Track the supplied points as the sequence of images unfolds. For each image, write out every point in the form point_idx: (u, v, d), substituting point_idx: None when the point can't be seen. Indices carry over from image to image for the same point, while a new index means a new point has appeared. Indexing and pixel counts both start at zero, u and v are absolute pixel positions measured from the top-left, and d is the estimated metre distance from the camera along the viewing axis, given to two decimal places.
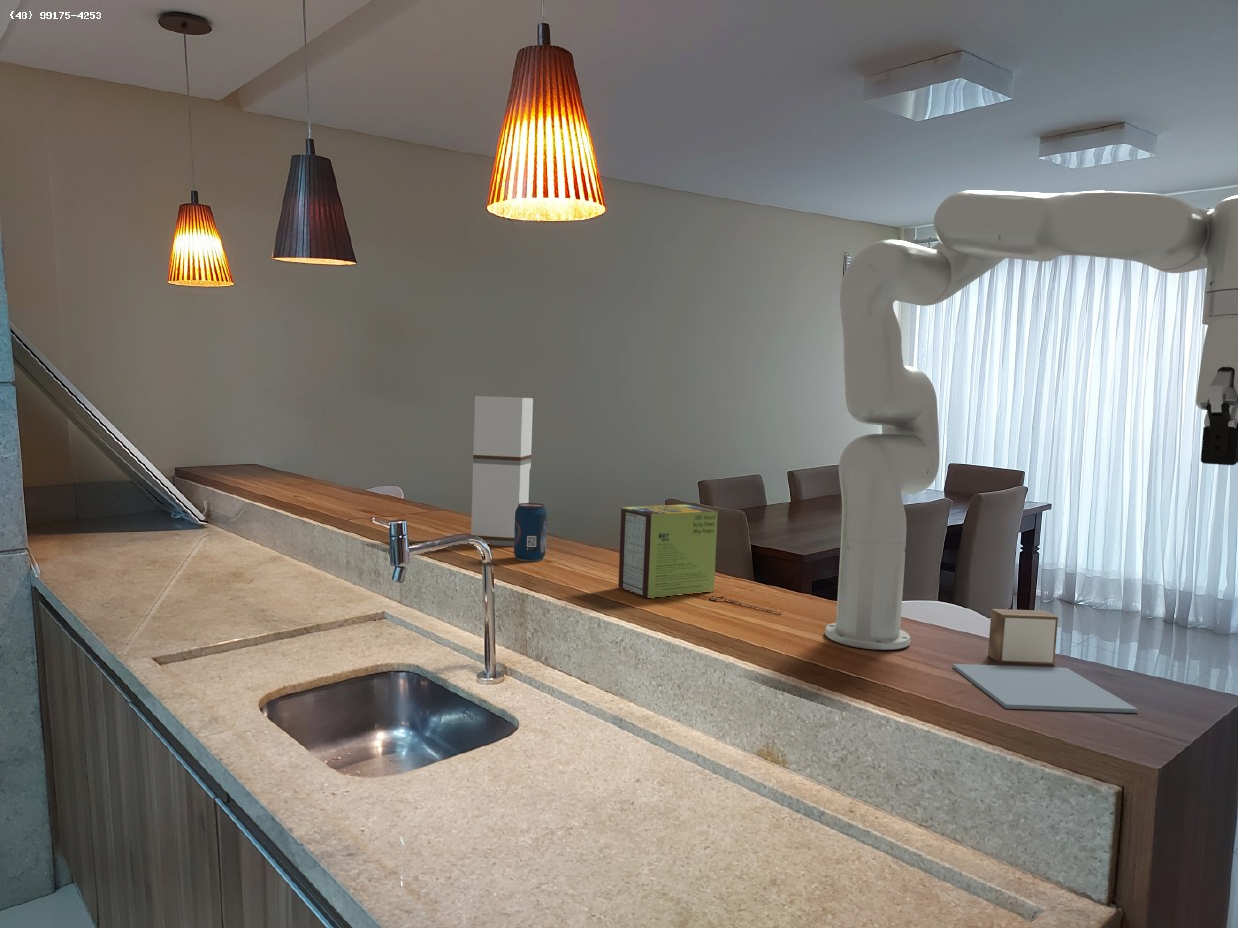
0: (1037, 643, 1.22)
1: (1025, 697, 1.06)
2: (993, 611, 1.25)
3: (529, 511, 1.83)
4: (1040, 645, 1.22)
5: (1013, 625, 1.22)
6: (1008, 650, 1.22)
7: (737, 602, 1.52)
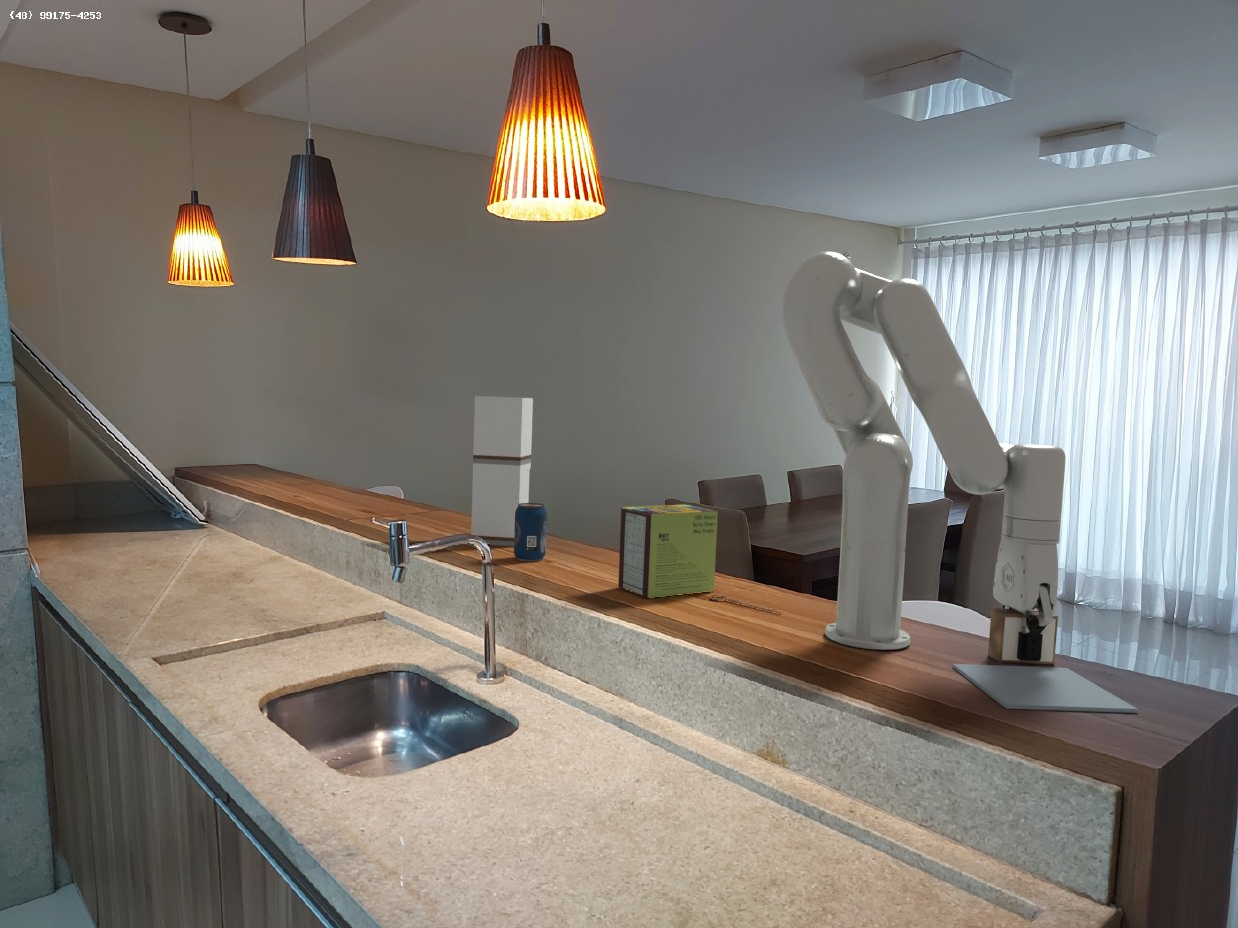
0: None
1: (1025, 697, 1.06)
2: (993, 610, 1.25)
3: (529, 511, 1.83)
4: None
5: (1013, 624, 1.22)
6: (1008, 649, 1.22)
7: (737, 602, 1.52)
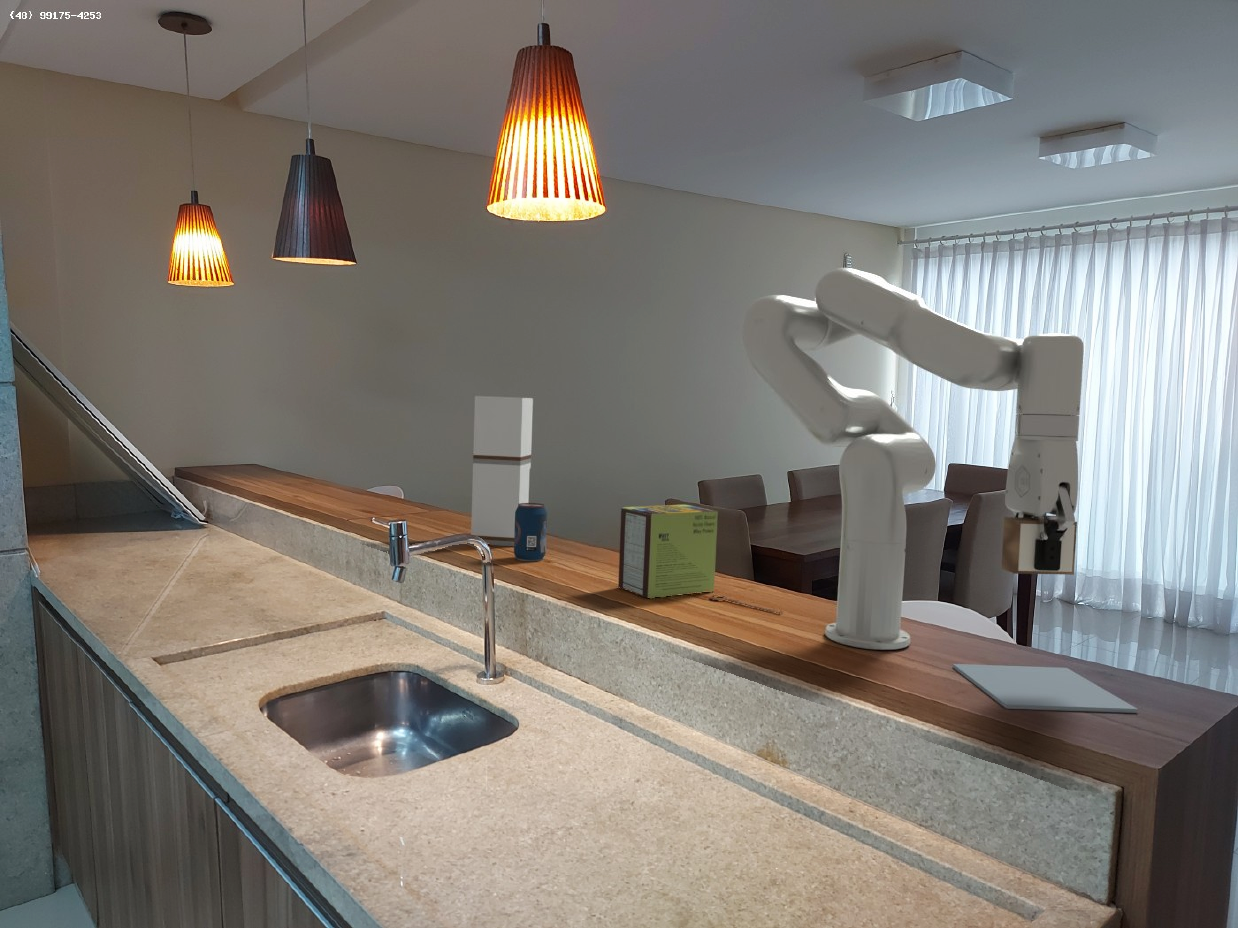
0: None
1: (1025, 697, 1.06)
2: (1006, 519, 1.14)
3: (529, 511, 1.83)
4: None
5: (1029, 531, 1.12)
6: (1025, 559, 1.12)
7: (737, 602, 1.52)
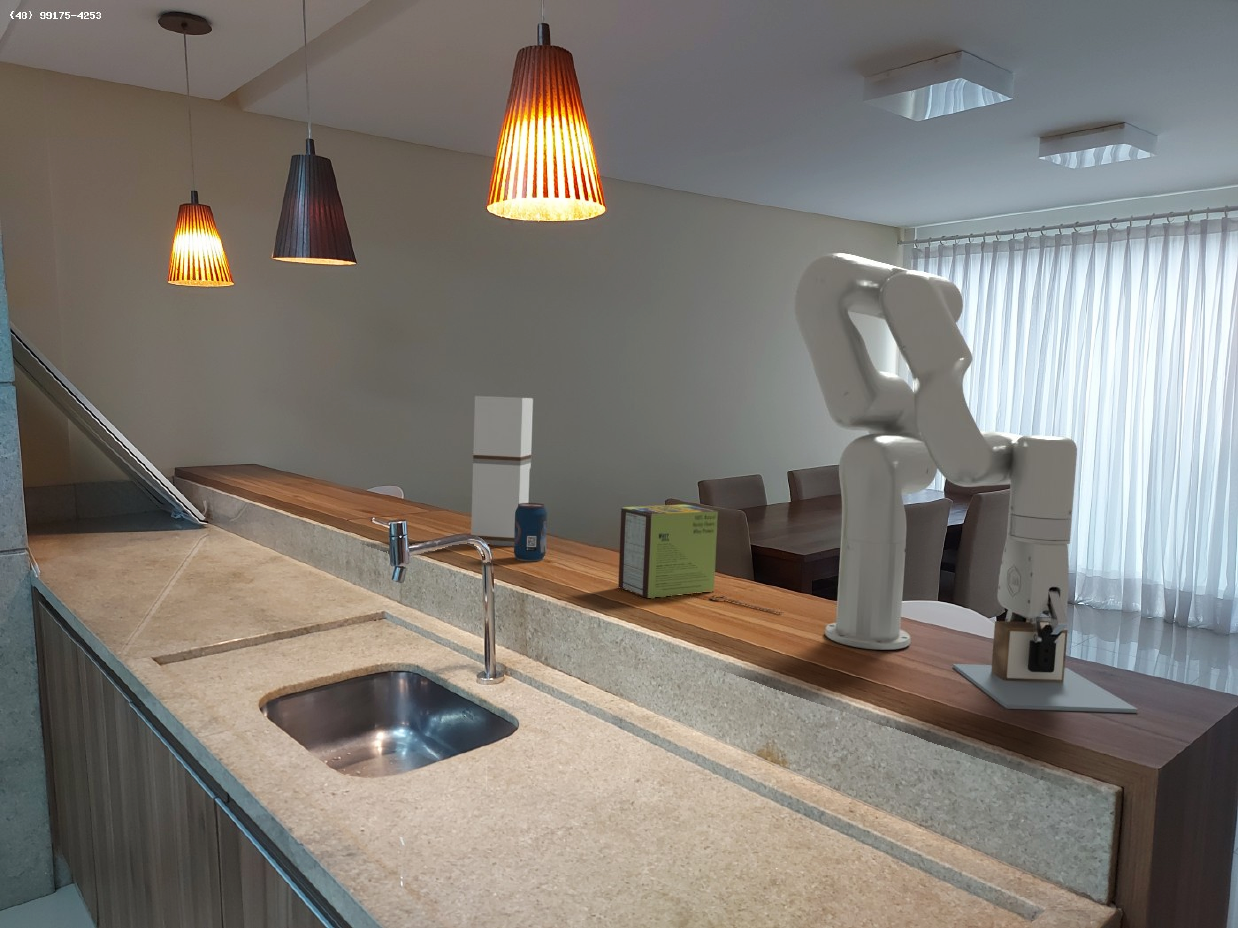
0: None
1: (1025, 697, 1.06)
2: (997, 624, 1.15)
3: (529, 511, 1.83)
4: None
5: (1019, 639, 1.12)
6: (1013, 666, 1.12)
7: (737, 602, 1.52)
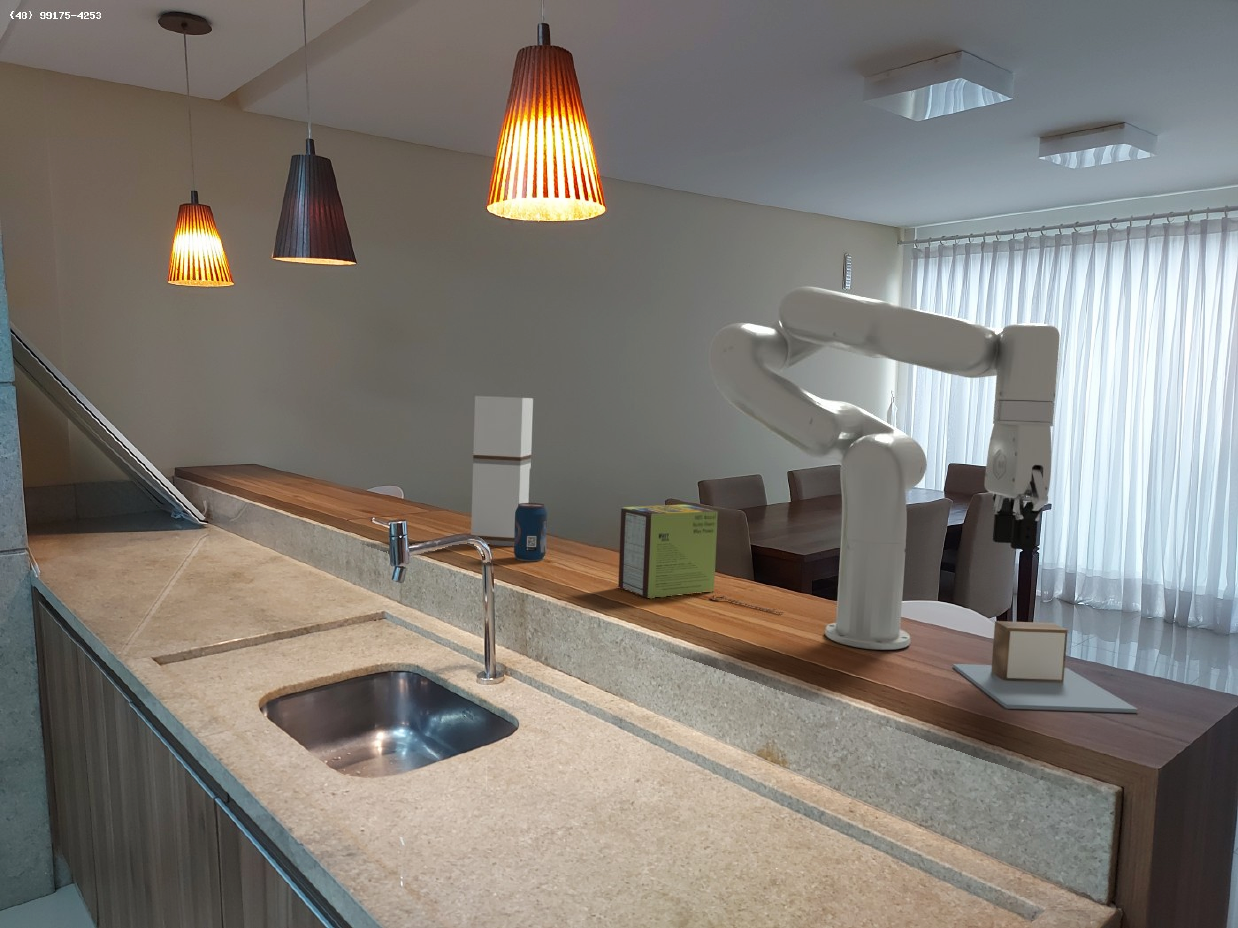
0: (1045, 659, 1.12)
1: (1025, 697, 1.06)
2: (997, 624, 1.15)
3: (529, 511, 1.83)
4: (1048, 661, 1.12)
5: (1019, 639, 1.12)
6: (1013, 666, 1.12)
7: (737, 602, 1.52)
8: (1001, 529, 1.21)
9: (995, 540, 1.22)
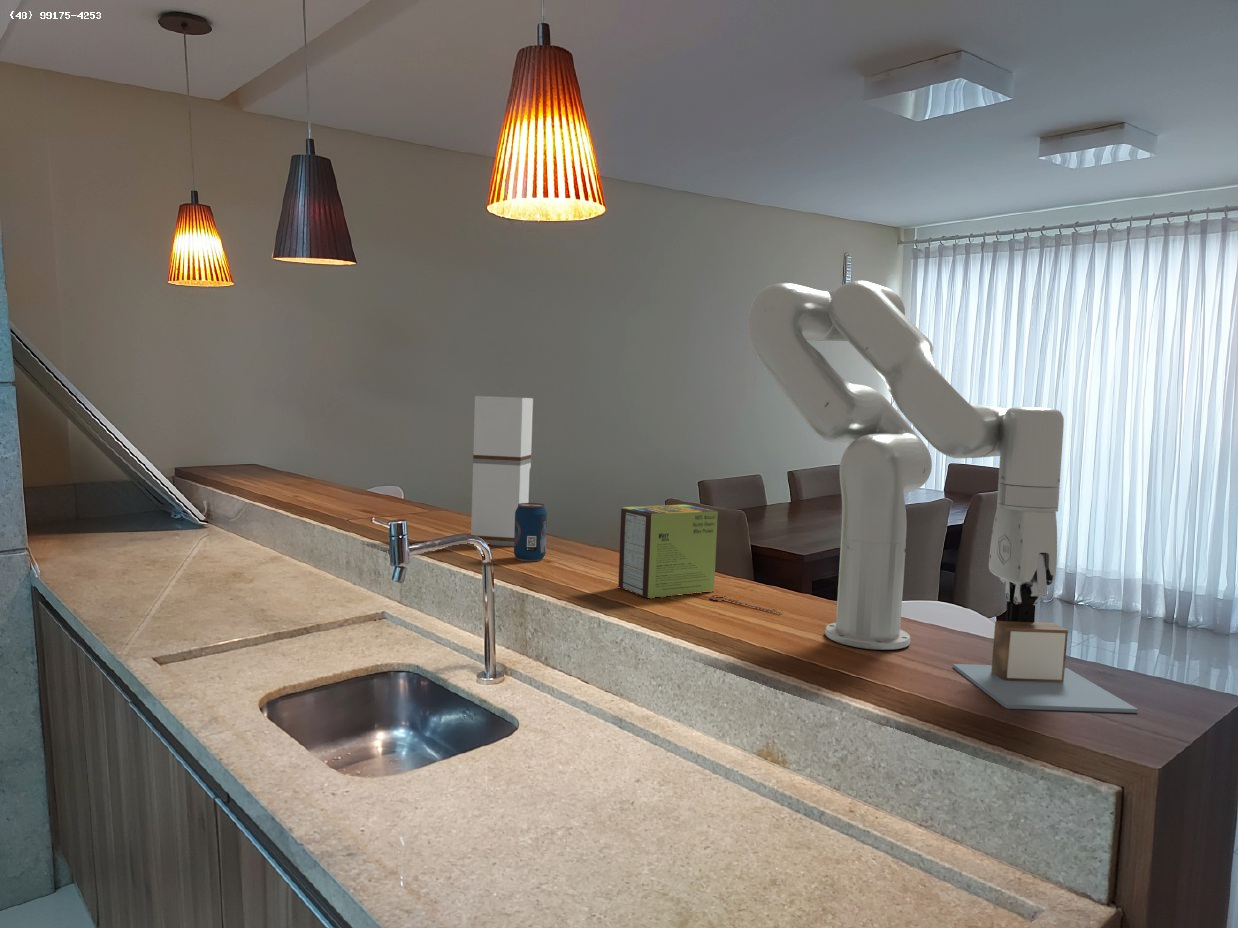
0: (1045, 659, 1.12)
1: (1025, 697, 1.06)
2: (997, 623, 1.15)
3: (529, 511, 1.83)
4: (1048, 661, 1.12)
5: (1019, 639, 1.12)
6: (1014, 666, 1.12)
7: (737, 602, 1.52)
8: None
9: None
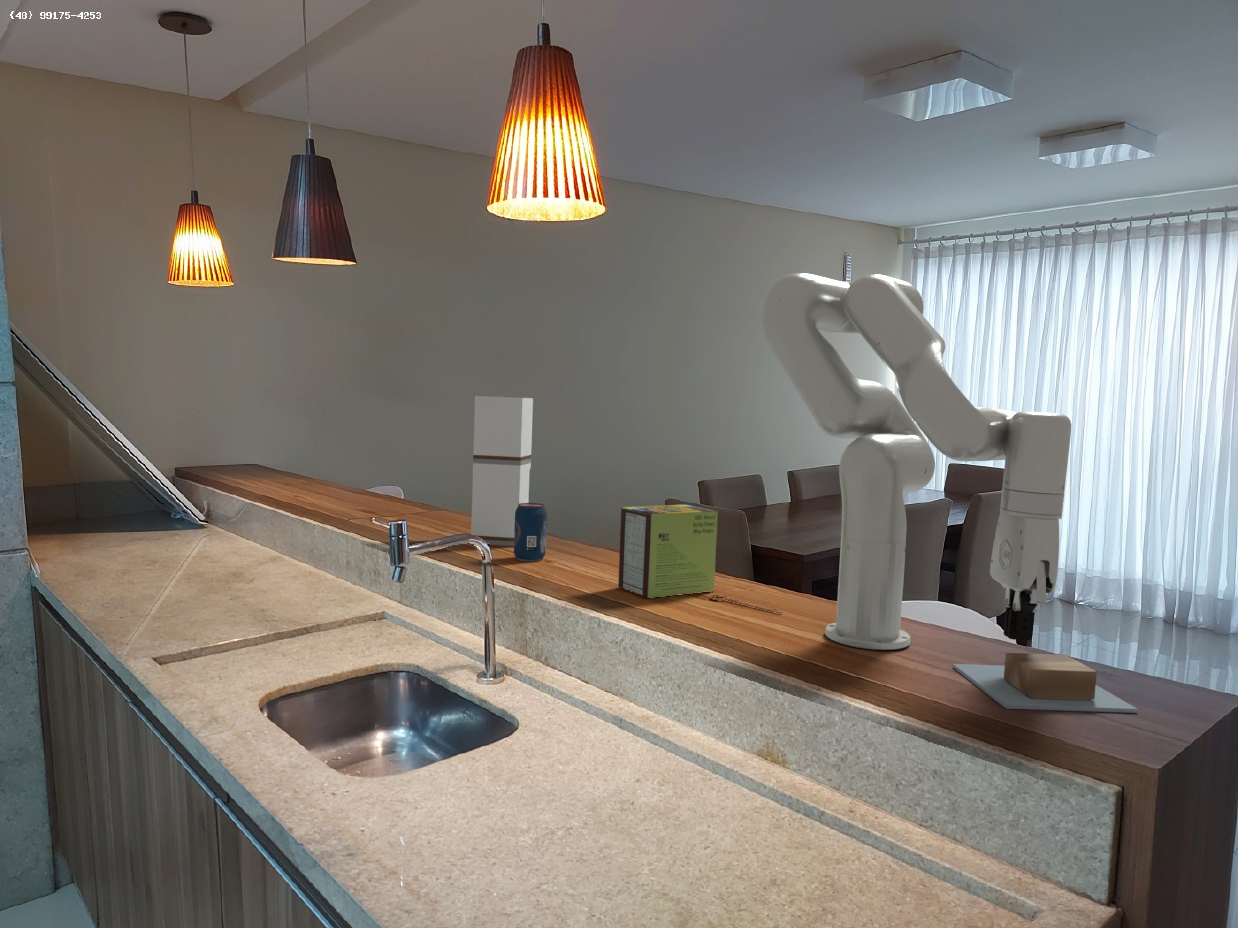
0: None
1: (1025, 697, 1.06)
2: (1031, 674, 1.05)
3: (529, 511, 1.83)
4: None
5: None
6: None
7: (737, 602, 1.52)
8: None
9: (1006, 634, 1.16)
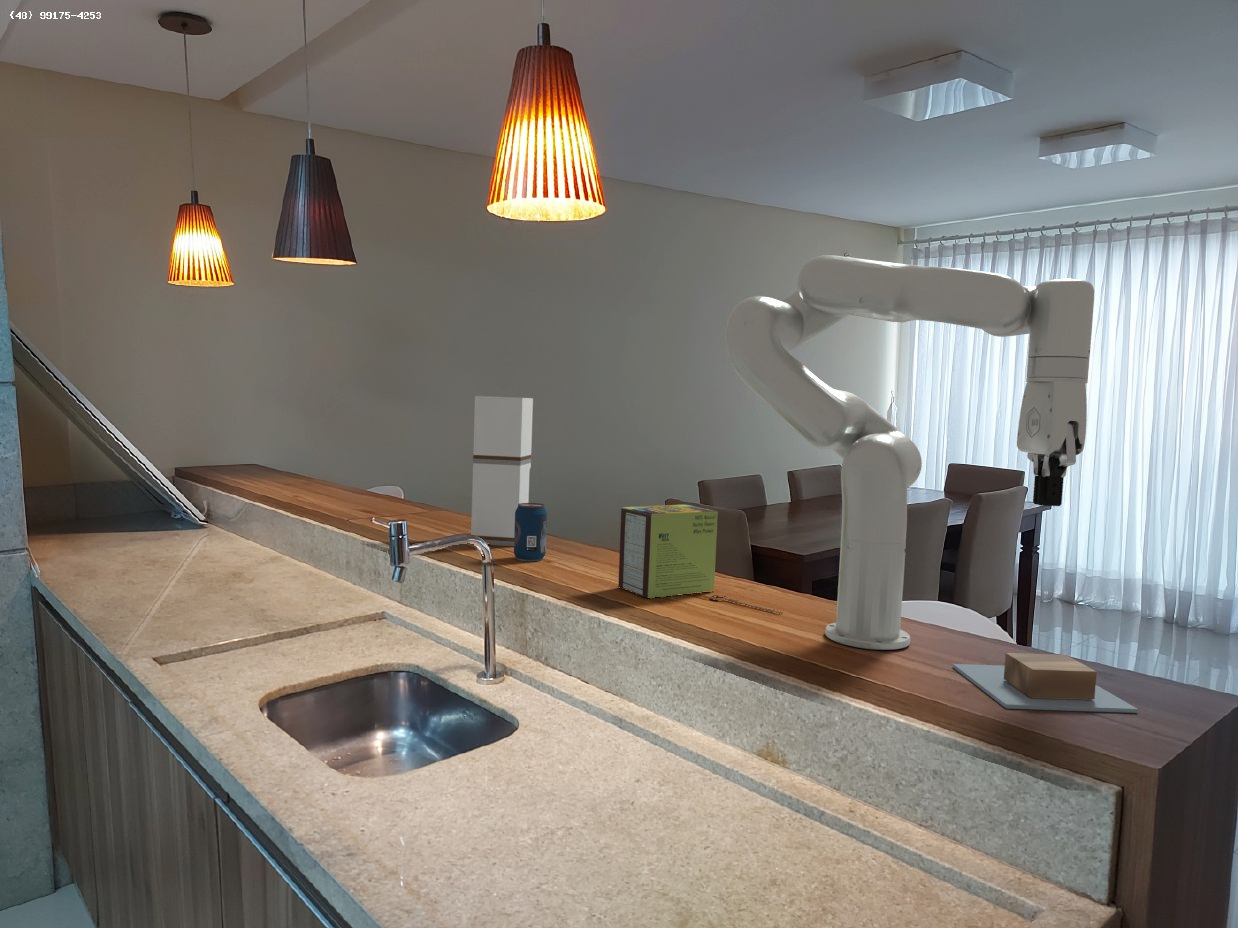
0: None
1: (1025, 697, 1.06)
2: (1031, 674, 1.05)
3: (529, 511, 1.83)
4: None
5: None
6: None
7: (737, 602, 1.52)
8: None
9: (1035, 502, 1.19)
